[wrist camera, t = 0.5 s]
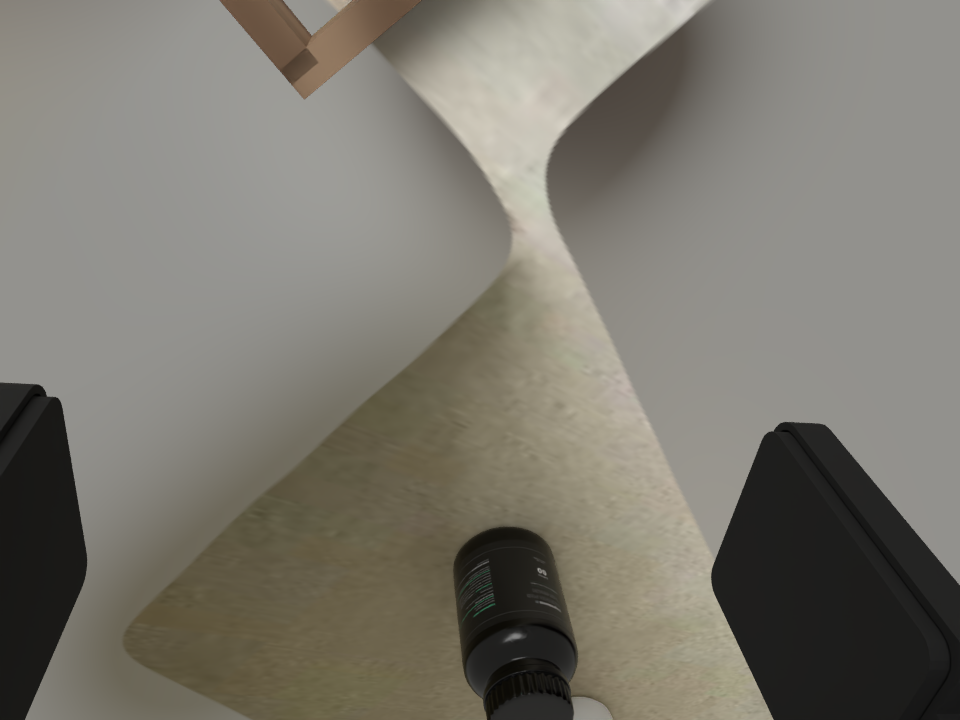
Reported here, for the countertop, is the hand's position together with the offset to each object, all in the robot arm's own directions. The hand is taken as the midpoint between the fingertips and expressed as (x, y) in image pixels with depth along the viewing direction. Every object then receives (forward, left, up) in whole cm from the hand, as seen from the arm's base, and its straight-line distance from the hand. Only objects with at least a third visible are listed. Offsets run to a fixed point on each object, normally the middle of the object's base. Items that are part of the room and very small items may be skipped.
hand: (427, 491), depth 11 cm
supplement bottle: (+15, +29, -30) cm, 44 cm away
